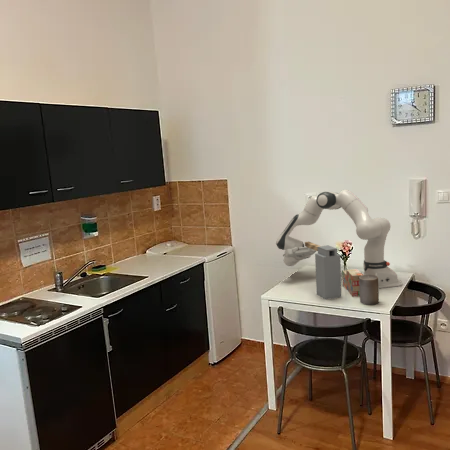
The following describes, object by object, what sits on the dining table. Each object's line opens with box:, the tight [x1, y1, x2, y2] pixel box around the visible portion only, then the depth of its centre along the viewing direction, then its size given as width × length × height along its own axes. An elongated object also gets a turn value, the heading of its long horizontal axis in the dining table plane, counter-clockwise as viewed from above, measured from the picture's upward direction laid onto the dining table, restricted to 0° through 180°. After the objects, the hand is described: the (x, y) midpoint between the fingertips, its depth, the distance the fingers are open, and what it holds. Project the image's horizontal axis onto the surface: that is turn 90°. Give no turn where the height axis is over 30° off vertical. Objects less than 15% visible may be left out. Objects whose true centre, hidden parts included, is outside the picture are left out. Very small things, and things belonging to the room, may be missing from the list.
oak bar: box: [304, 241, 320, 252], centre depth 263 cm, size 22×3×3 cm, turn 17°
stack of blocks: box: [341, 268, 364, 297], centre depth 259 cm, size 21×6×12 cm, turn 0°
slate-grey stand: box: [314, 245, 342, 300], centre depth 251 cm, size 10×10×28 cm
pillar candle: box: [359, 274, 380, 306], centre depth 238 cm, size 10×10×15 cm
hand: (305, 247), depth 276 cm, fingers open, 8 cm apart
